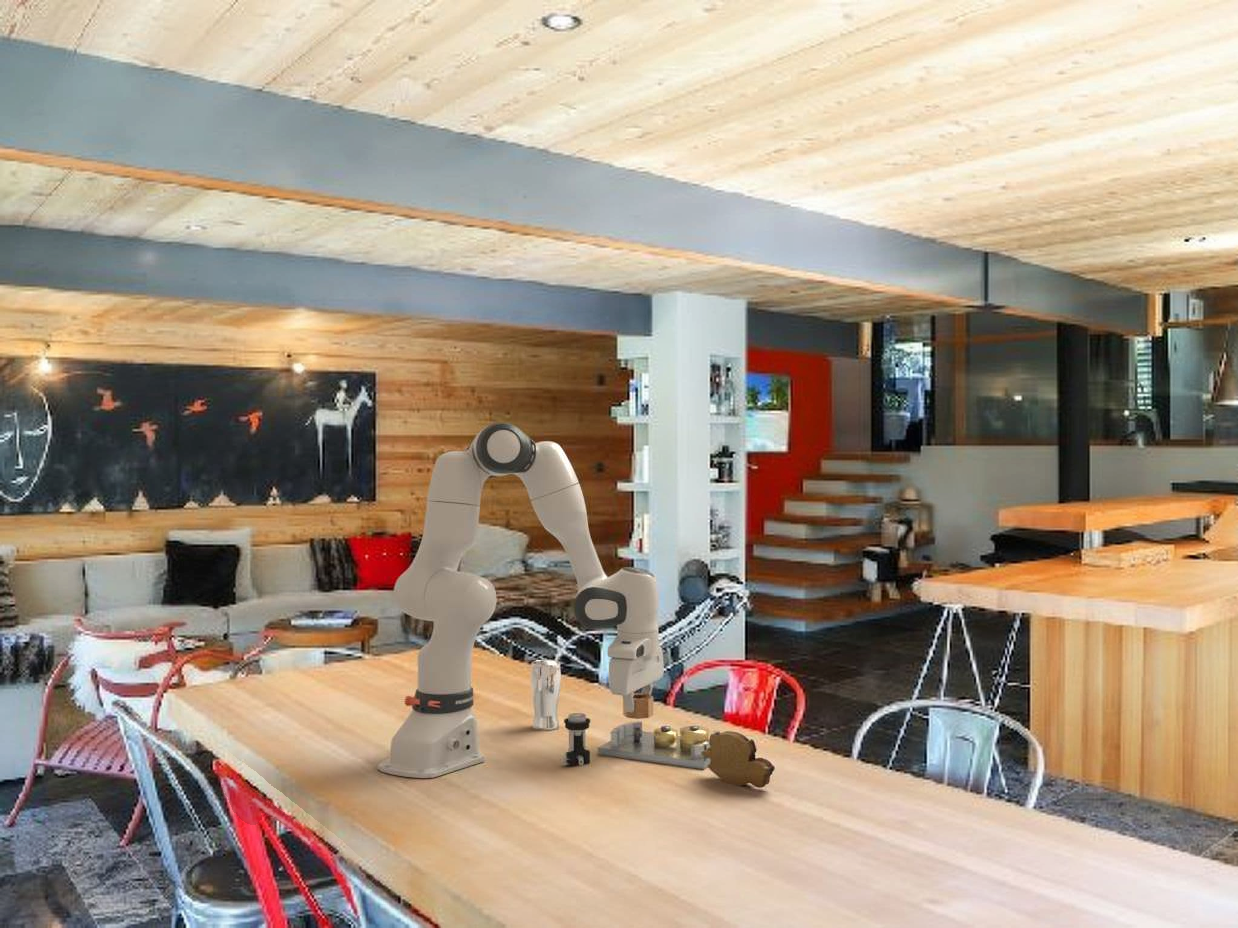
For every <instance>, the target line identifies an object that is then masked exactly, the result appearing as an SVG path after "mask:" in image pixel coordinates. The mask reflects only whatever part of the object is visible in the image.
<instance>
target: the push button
mask: <svg viewBox="0 0 1238 928" xmlns="http://www.w3.org/2000/svg"><path fill="white" fill-rule="evenodd" d="M563 723H564V728H565V729H566V730H567V731H568V749H567V751H566V752H565V754H564V755H565V756H564V757H565V758H562V759H560V761H562V762H564V761H565V762H564V763H560V766H568V767H571V768H572V767H576V766H583V765H589V764H590V763H591V751H590V750H588V749H587V746H586V730H588V729H589V728H590V723H591V719H590V718H588V717H587V715H586V713H582V712H581V713H580V712H574V713H569V714H568V717H567V718H565V719H564V720H563Z"/></svg>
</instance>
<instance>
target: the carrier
mask: <svg viewBox="0 0 1238 928" xmlns="http://www.w3.org/2000/svg"><path fill="white" fill-rule="evenodd" d="M717 732H719V733H721V731H720V730H713V734H715V733H717ZM709 734H710V732H709V728H707V727H704V726H697V725H687V726H683V727H680V728H679V735H678V729H676V728H672V727H671V726H670V725H663V726H660V727H659V728H655V729H653V731H646V730H645V731H644V730H643V722H642V721H640V720H636V721H631V722H626V723H624V724H620V725H618V726H616V727H613V729H611V731H610V740H609V741H607V742H605V743H604V744H602V745H600V746H597V755H599V756H606V757H614V758H619V759H620V758H621V759H627V760H634V761H641V762H649V763H656V764H663V765H671V766H676V767H685V768H690V769H697V770H706V769H707V768H708V765H709V764H710V758H707V757H704V756H703V755H702V753H701V752H702V751H704V750H706V749H708V748H710V744H709V738H710V736H709Z"/></svg>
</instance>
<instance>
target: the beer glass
mask: <svg viewBox="0 0 1238 928" xmlns="http://www.w3.org/2000/svg"><path fill="white" fill-rule="evenodd" d="M561 673H562V672H561V662H560V660H556V659H537V660H534V661H532V662H531V667H530V691H531V697H532V702H533V703H532V704H533V710H534V717H533V723H532V728H533V729H534V730H537V731H554V730H557V729H559V728H560V722H559V716H558V707H559V701H560V695H561V694H560V693H561V687H562V678H561V677H562V676H561V675H562V674H561Z"/></svg>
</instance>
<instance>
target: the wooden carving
mask: <svg viewBox="0 0 1238 928" xmlns="http://www.w3.org/2000/svg"><path fill="white" fill-rule="evenodd" d="M709 744H710V748H708V749H706V750H704V751H702V752H701V753H702V755H703V756H704V757H707V758H710V764H709V765H708V767H707V768H708V769H709V770H710V771H711V772H712V773H713V774H714V775H715V776H717V777H718V778H720V779H721V780H722V781H724V782H726V783H727V784H729V785H734V786H745V785H747V784H750V785H752V786H753V787H755V788H759V789H761V788H763V787H766V785H768V784H770V782H771V780H770V779H771V776H772V775H773V773H774V771H775V765H774V764H772V762H771V761H769V760H768V759H767V758H763V757H757V758H756V753H757V746H756V743H755V741H754V739H752V738H751V739H749V738H747V736H746V735H744V734H743V733H742V734H741V733H740V732H737V731H730V730H728V731H723V732H720V733H719V732H717V733H715V734H714V733H711V734H710V736H709Z"/></svg>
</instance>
